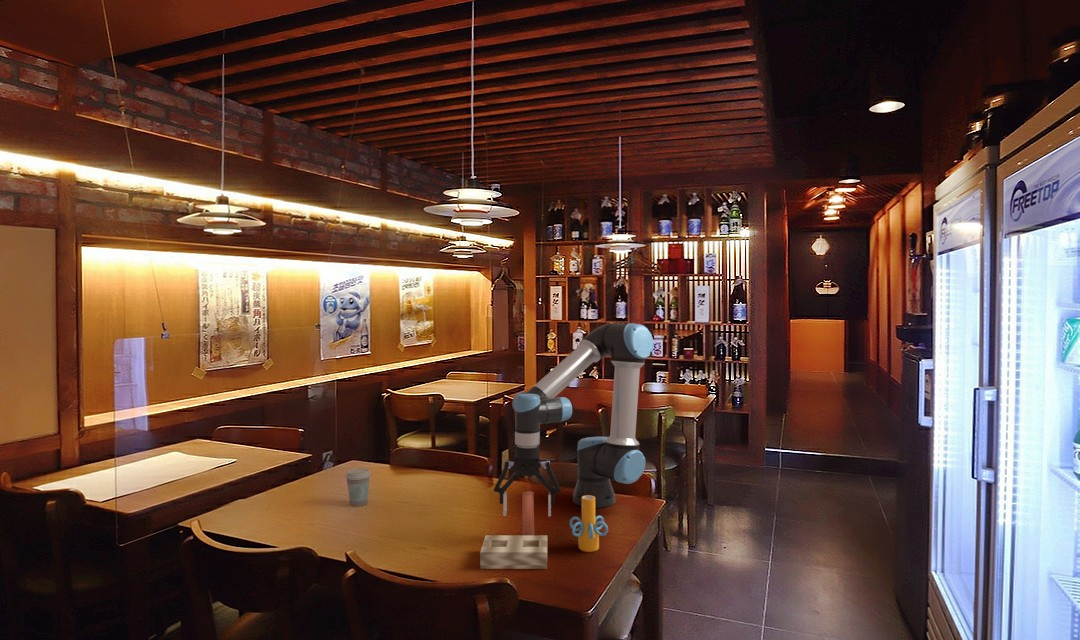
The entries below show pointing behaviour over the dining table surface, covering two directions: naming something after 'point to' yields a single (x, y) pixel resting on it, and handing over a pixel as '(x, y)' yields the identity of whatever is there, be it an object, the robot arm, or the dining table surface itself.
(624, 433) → the robot arm
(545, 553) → the socket block
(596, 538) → the cylinder
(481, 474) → the dining table surface
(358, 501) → the coffee cup
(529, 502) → the dowel
